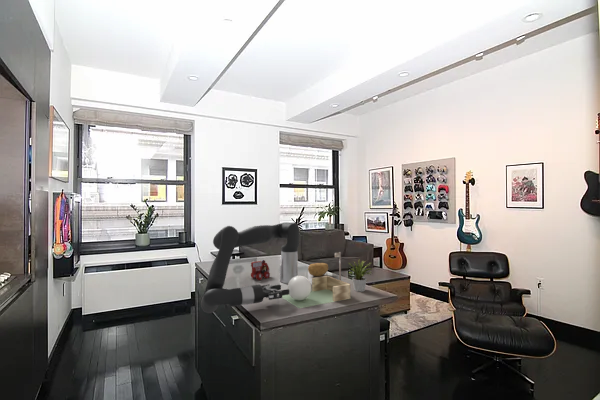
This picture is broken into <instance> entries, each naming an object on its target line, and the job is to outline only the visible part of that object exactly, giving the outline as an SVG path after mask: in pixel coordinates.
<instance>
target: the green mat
mask: <svg viewBox="0 0 600 400" xmlns="http://www.w3.org/2000/svg"><path fill="white" fill-rule="evenodd" d="M281 299H283V300H285V301H286V302H288V303H290V304H291V305H293V306H294V307H296V308H297V309H303V308H310V307H314V306H319V305H325V304H330V303H335V302H337V301H335V302H334V301H333V291H330V290H328V289H325V290H319V291H312V290H311V293H310V295H309V296H308V297H307V298H306V299H304V300H300V301H298V300H295V299H293V298H292V297H291V296H290V295H283V296H282V298H281ZM350 299H351V300H352V297H350ZM350 299H349V300H350ZM345 300H347V299H345ZM345 300H344V301H345ZM340 301H342V300H340ZM340 301H339V302H340Z"/></svg>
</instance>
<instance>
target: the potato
mask: <svg viewBox="0 0 600 400" xmlns="http://www.w3.org/2000/svg"><path fill="white" fill-rule="evenodd" d="M328 270H329V264H328V263H325V262H315V263H311V264H309V265H308V267H307V271H308V274H309V275H311V276H312V277H322V276H325V274H326V273H327V272H328Z"/></svg>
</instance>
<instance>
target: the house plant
mask: <svg viewBox="0 0 600 400" xmlns="http://www.w3.org/2000/svg"><path fill="white" fill-rule="evenodd" d="M360 260H361V259H360V258H358V260H357V261H358V264H357V263H356V262H355V261H351V262H348V264H349V266H350V267H352V268H350V271H349V272H348V274H353V275H354V277H352V279H351V280H352V284H353V289H354V291H355V292H365V291H366V284H367V278H366V277H365V276H366V275H370V276H371V275H372V271H370V270H372V268H368V267H369V266H370V265H371V262H369V263H367V264H366V265H365V266H364V264H365V262H366V260H365V261H364V259H363V260H362V261H361V262H360ZM352 262H353V263H354V265H353V263H352ZM363 266H364V267H363Z"/></svg>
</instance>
